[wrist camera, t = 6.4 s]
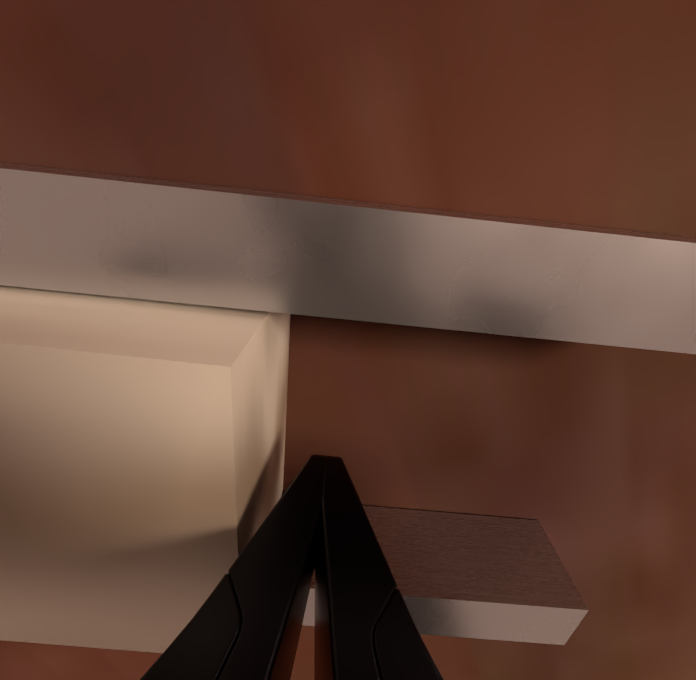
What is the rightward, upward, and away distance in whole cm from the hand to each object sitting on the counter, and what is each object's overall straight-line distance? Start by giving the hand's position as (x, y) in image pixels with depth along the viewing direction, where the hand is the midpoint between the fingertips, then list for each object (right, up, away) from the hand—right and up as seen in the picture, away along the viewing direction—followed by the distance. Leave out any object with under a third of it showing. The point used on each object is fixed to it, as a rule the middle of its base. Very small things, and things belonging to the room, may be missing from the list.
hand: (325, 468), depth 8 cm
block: (-5, +2, +2) cm, 6 cm away
